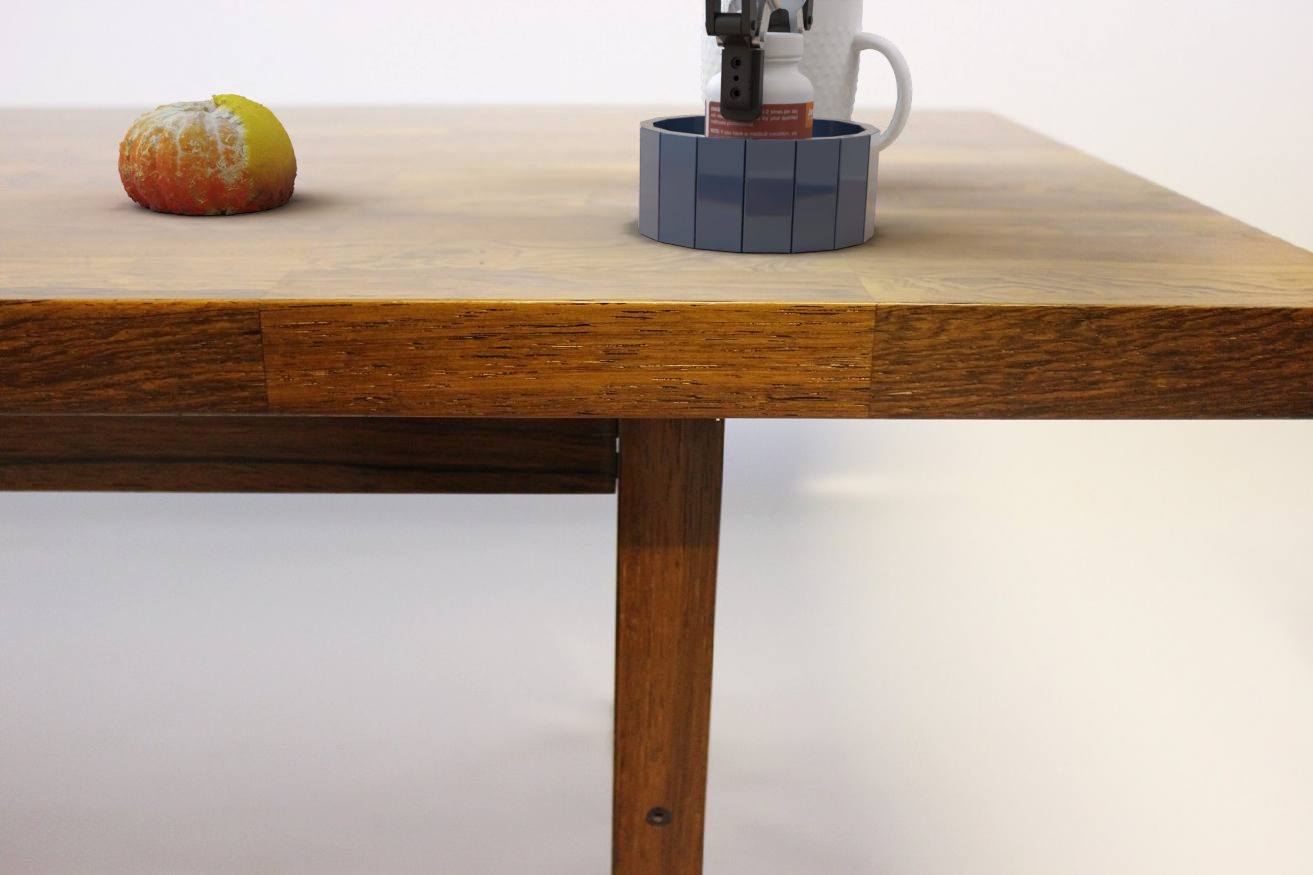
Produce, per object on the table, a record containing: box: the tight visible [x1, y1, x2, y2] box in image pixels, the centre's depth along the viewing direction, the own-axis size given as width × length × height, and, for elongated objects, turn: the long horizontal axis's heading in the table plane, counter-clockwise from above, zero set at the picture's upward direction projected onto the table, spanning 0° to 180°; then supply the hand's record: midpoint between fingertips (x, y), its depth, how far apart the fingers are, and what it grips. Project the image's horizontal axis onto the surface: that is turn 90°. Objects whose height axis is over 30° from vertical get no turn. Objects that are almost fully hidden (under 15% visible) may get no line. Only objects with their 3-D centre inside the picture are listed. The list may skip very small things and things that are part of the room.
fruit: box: [117, 93, 298, 216], centre depth 84 cm, size 11×10×8 cm
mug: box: [700, 0, 913, 153], centre depth 94 cm, size 15×11×13 cm
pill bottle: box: [704, 32, 814, 138], centre depth 77 cm, size 6×6×11 cm
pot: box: [637, 113, 882, 254], centre depth 78 cm, size 14×14×6 cm
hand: (758, 113), depth 77 cm, fingers closed on pill bottle, 6 cm apart
